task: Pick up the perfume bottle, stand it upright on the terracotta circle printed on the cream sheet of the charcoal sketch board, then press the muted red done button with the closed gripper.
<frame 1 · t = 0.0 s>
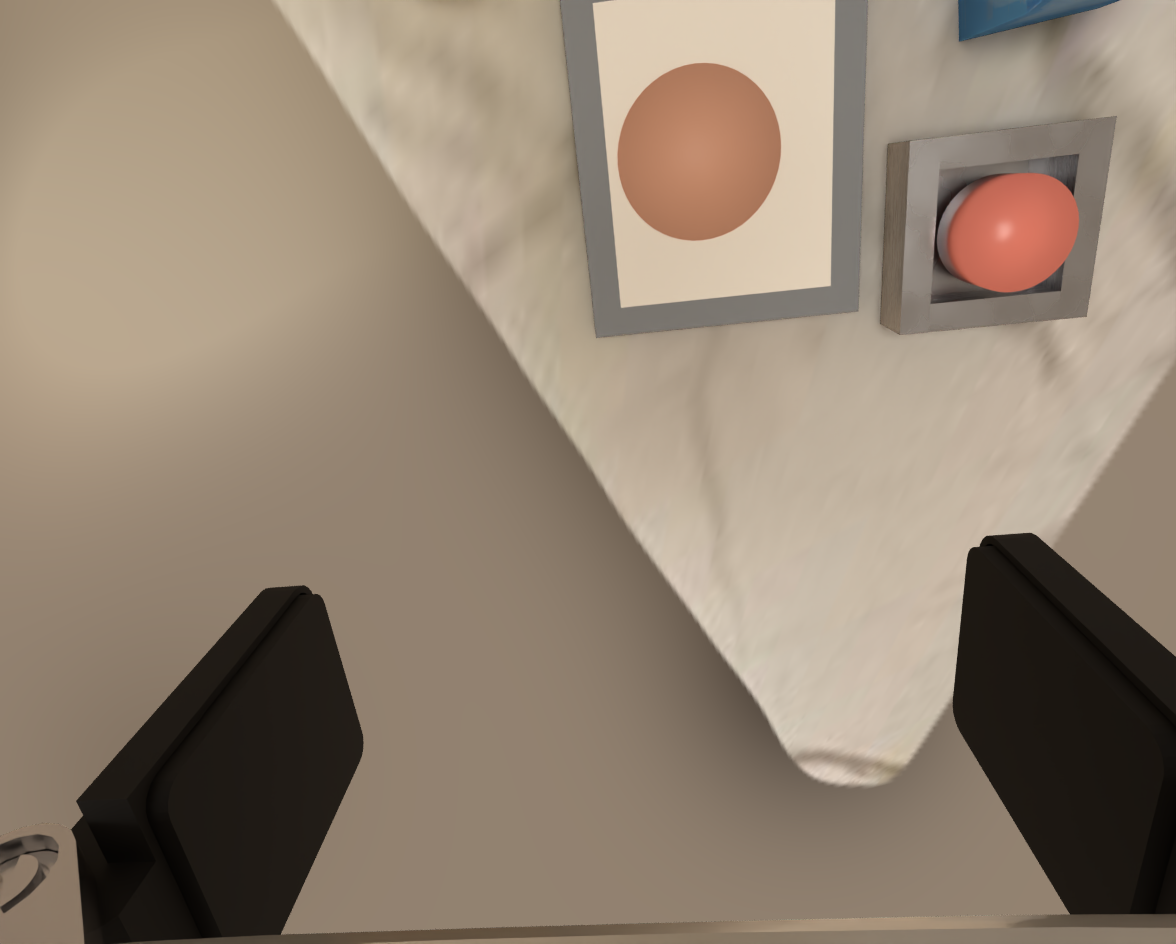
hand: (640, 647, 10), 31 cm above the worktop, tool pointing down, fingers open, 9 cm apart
sketch board: (716, 153, 36), on the worktop
done button base: (973, 228, 37), on the worktop
done button: (1004, 232, 34), point 3 cm above the worktop, slide at 0.0 cm
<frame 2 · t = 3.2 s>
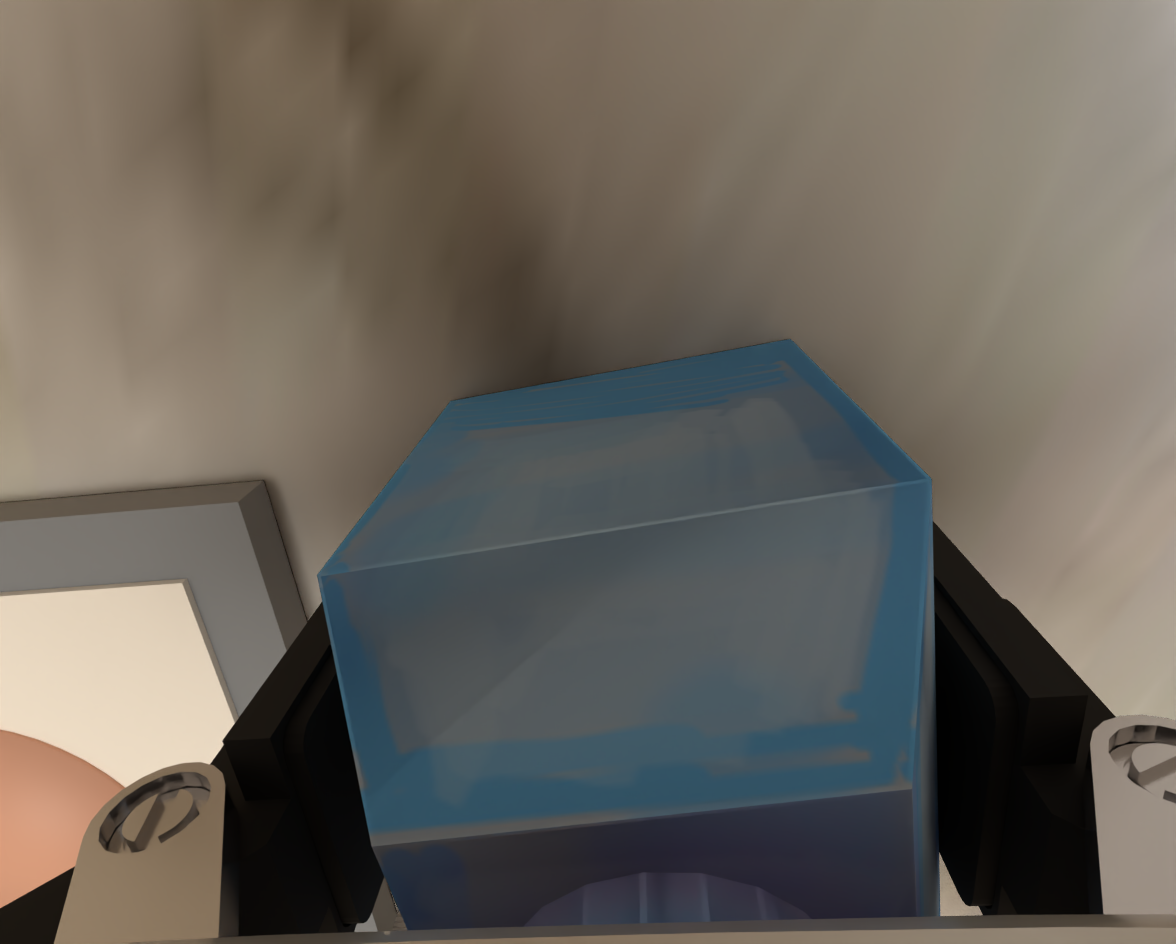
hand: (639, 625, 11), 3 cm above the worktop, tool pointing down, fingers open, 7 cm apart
sketch board: (91, 815, 18), on the worktop
perfume bottle: (644, 518, 14), on the worktop, touching gripper
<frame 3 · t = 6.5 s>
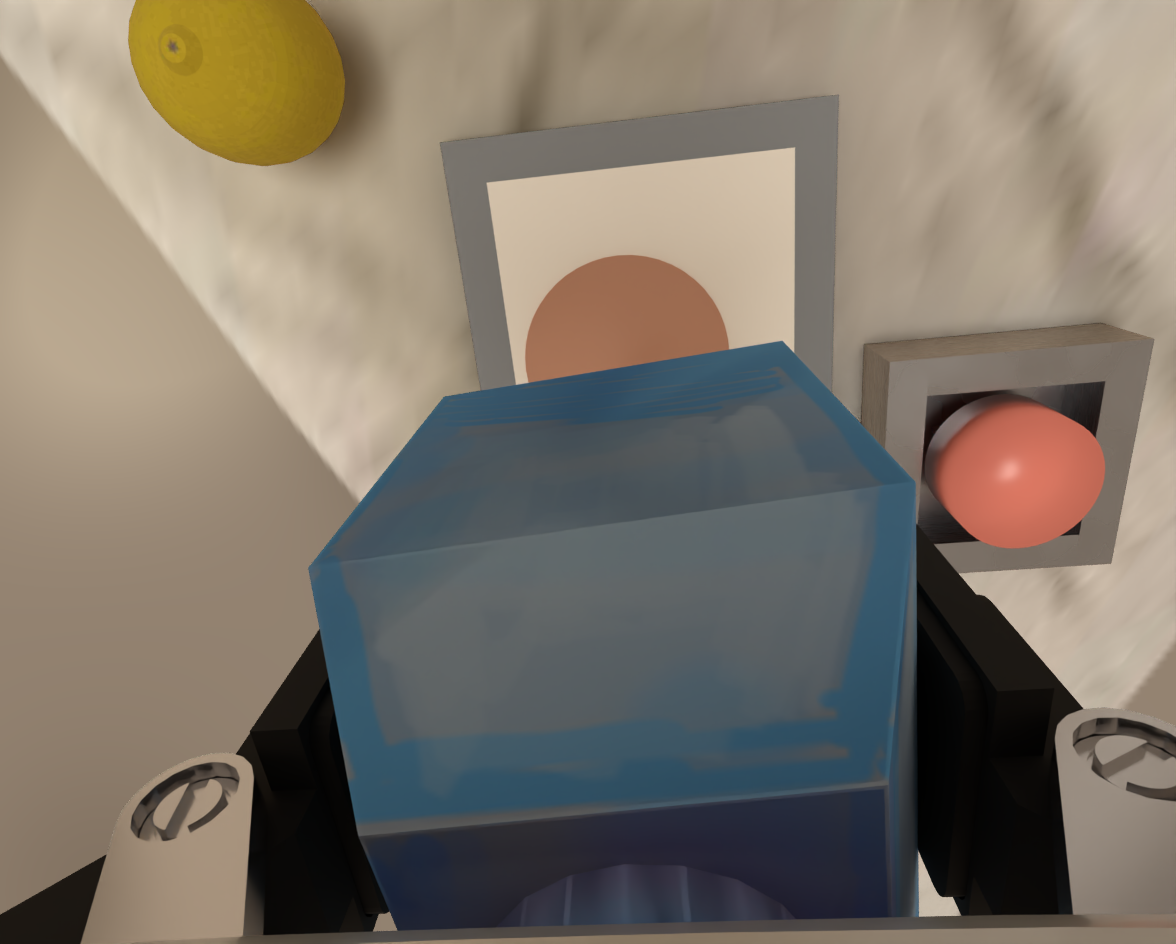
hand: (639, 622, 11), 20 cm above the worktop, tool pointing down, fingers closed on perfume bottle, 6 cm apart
sketch board: (650, 351, 29), on the worktop
perfume bottle: (635, 516, 14), point 16 cm above the worktop, touching gripper
lemon: (303, 85, 26), on the worktop
done button base: (970, 440, 30), on the worktop
done button: (1009, 470, 27), point 3 cm above the worktop, slide at 0.0 cm
when the fingers open (6 cm above the worktop, at t = 9.6 s): perfume bottle drops 1 cm, resting on sketch board.
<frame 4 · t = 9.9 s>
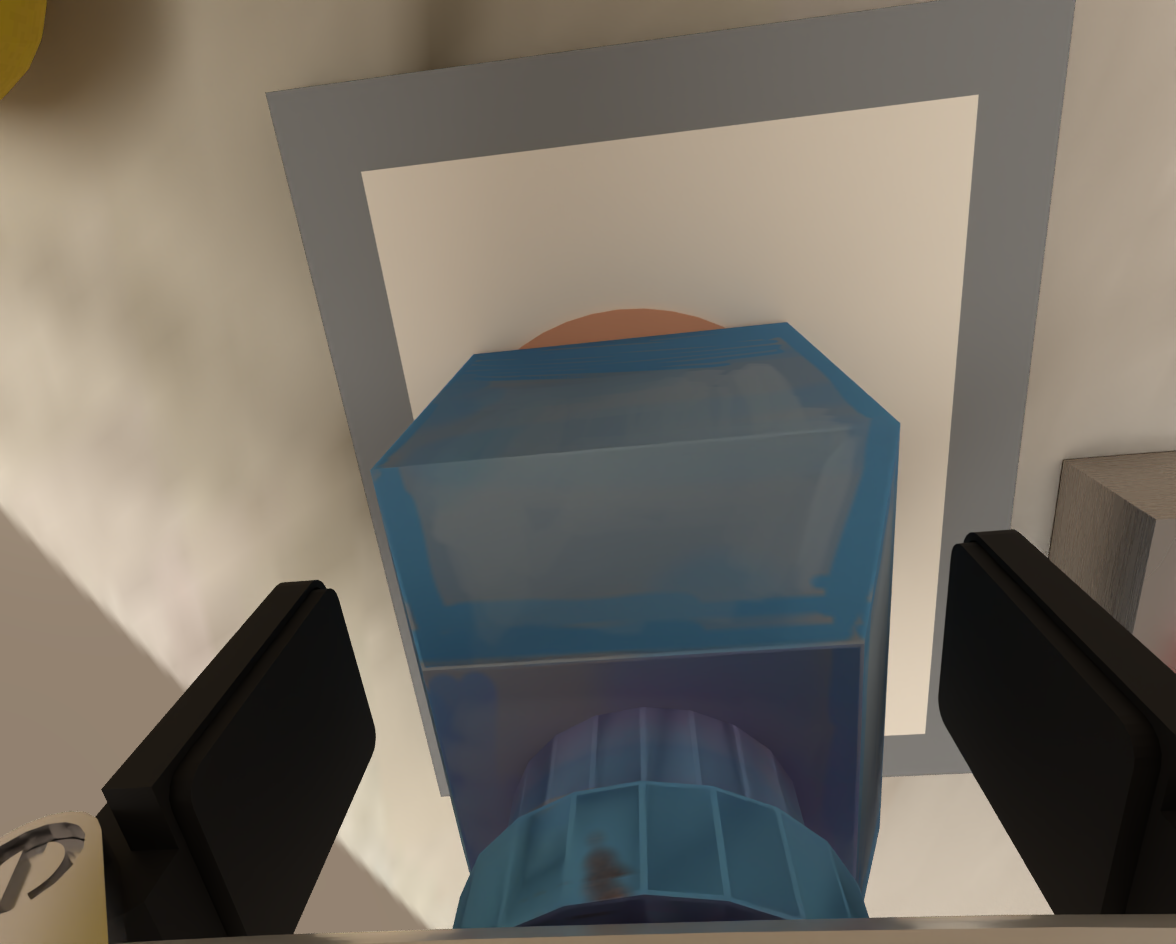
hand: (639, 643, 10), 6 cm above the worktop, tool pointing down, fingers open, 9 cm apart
sketch board: (678, 471, 16), on the worktop
perfume bottle: (640, 478, 15), point 1 cm above the worktop, touching sketch board
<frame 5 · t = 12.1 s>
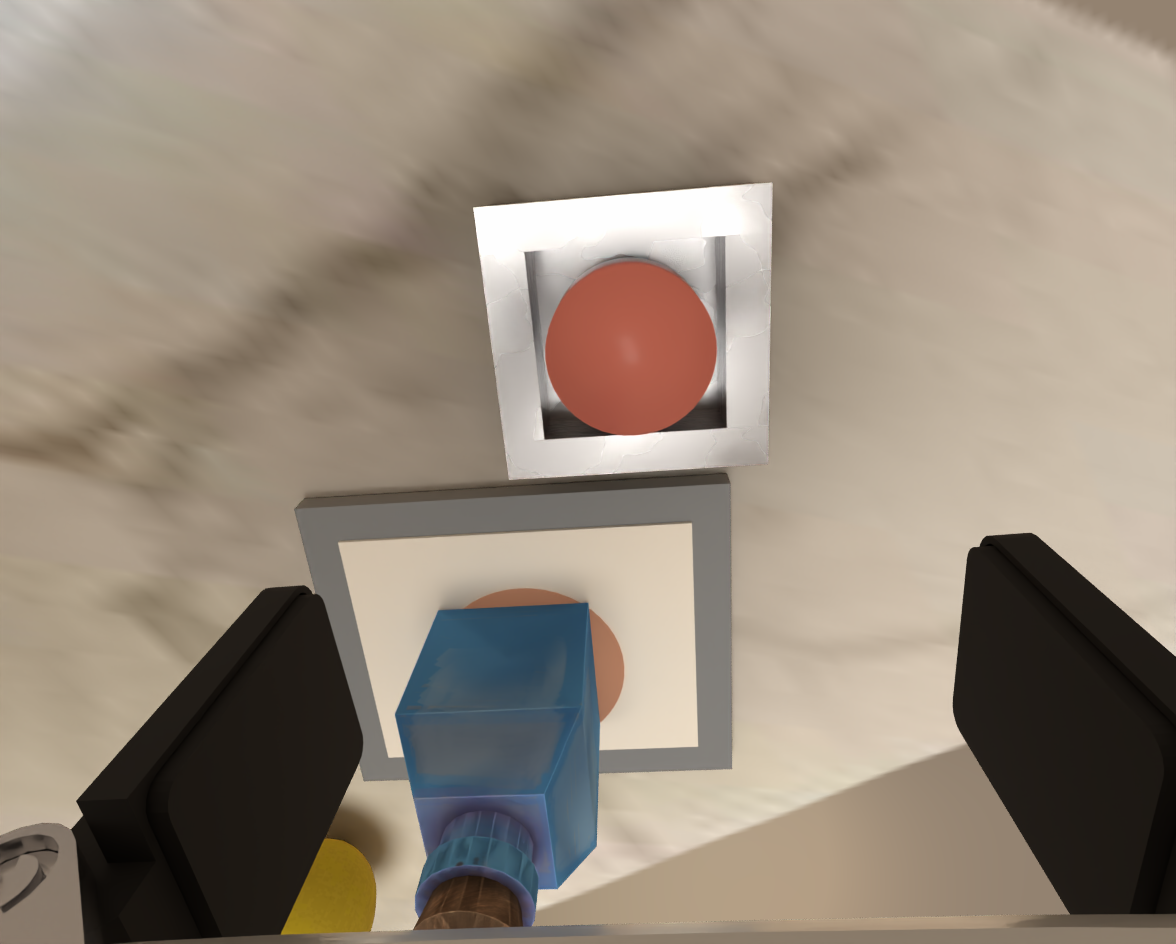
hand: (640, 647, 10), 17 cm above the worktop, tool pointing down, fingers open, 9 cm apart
sketch board: (530, 634, 31), on the worktop
perfume bottle: (522, 666, 30), point 1 cm above the worktop, touching sketch board
lemon: (343, 839, 36), on the worktop
done button base: (628, 326, 26), on the worktop
done button: (629, 345, 23), point 3 cm above the worktop, slide at 0.0 cm
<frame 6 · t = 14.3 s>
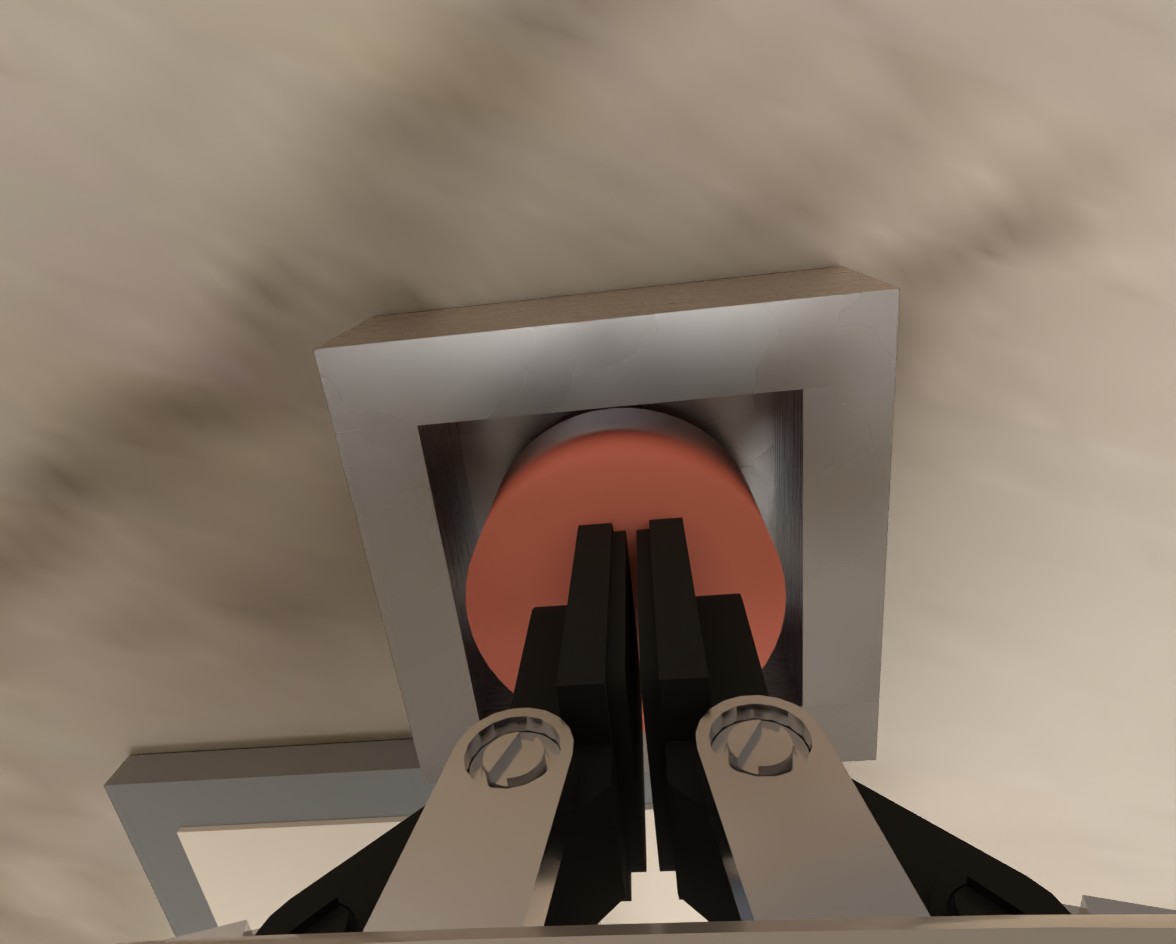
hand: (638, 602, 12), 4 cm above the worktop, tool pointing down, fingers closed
sketch board: (491, 927, 21), on the worktop
done button base: (623, 504, 15), on the worktop
done button: (623, 567, 13), point 3 cm above the worktop, slide at 0.6 cm, touching gripper
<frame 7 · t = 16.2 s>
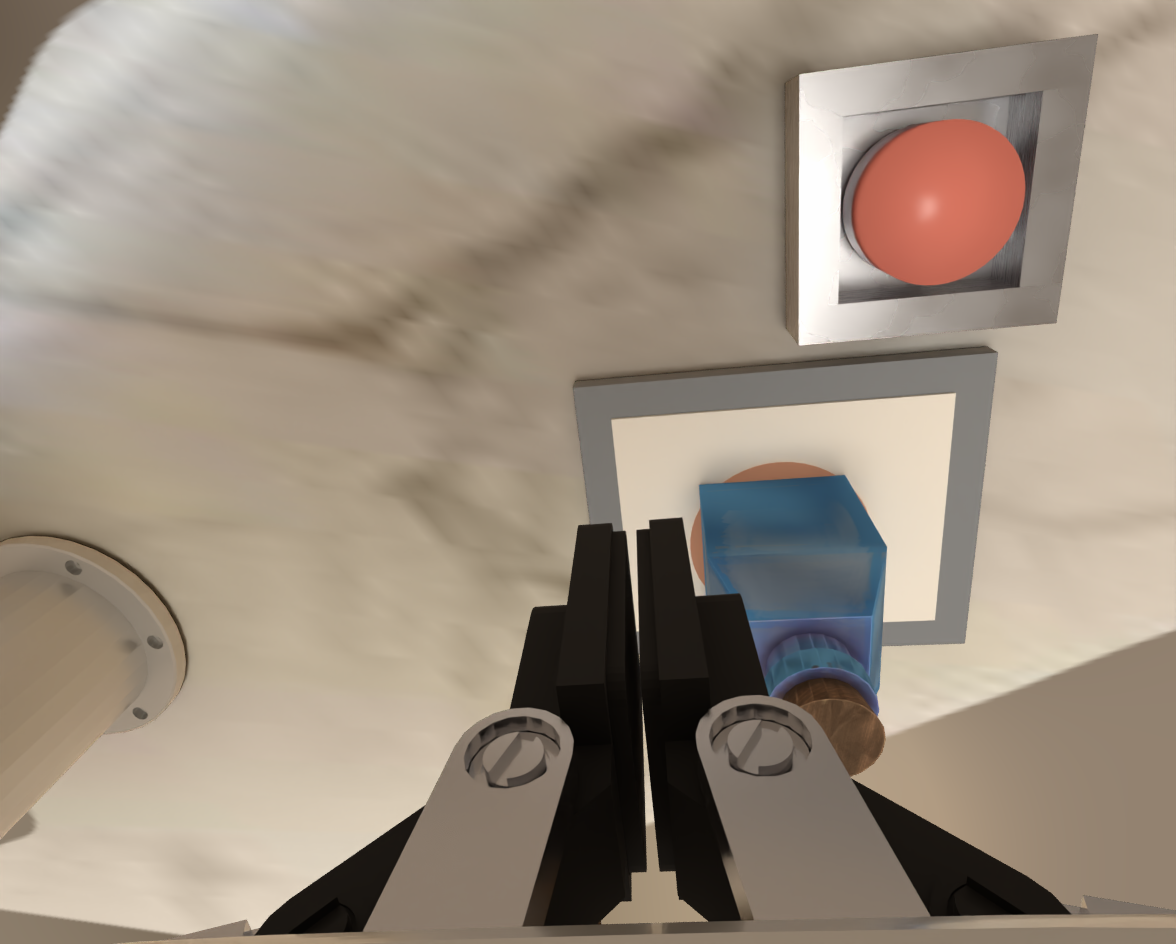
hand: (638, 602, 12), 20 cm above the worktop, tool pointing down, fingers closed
sketch board: (775, 512, 33), on the worktop
perfume bottle: (771, 540, 32), point 1 cm above the worktop, touching sketch board
done button base: (906, 199, 27), on the worktop
done button: (928, 203, 25), point 2 cm above the worktop, slide at 0.9 cm
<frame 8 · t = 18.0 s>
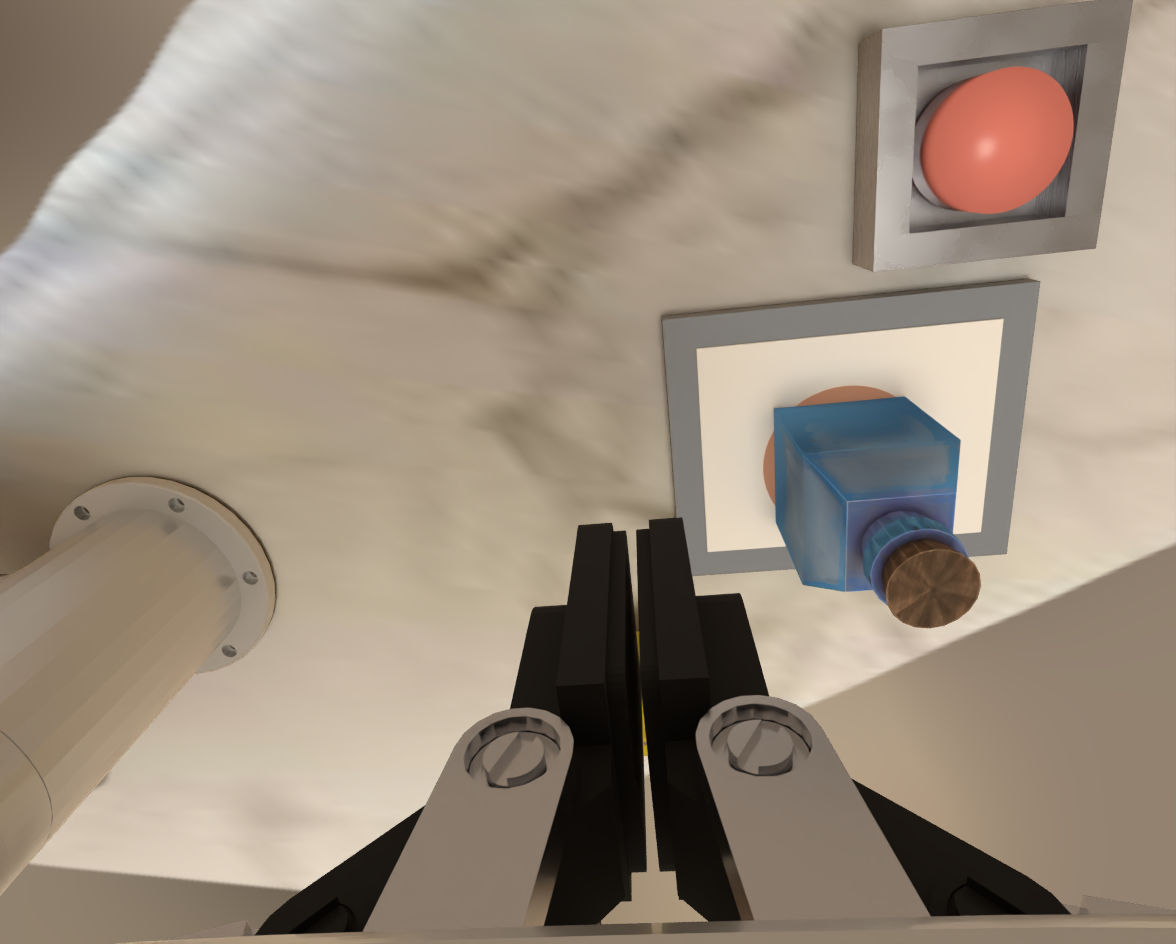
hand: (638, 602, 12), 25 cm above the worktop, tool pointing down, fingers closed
sketch board: (838, 436, 36), on the worktop
perfume bottle: (836, 460, 36), point 1 cm above the worktop, touching sketch board
done button base: (961, 146, 31), on the worktop
done button: (986, 144, 29), point 2 cm above the worktop, slide at 0.9 cm
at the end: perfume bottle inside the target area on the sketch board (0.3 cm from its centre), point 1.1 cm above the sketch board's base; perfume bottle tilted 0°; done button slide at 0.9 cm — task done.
